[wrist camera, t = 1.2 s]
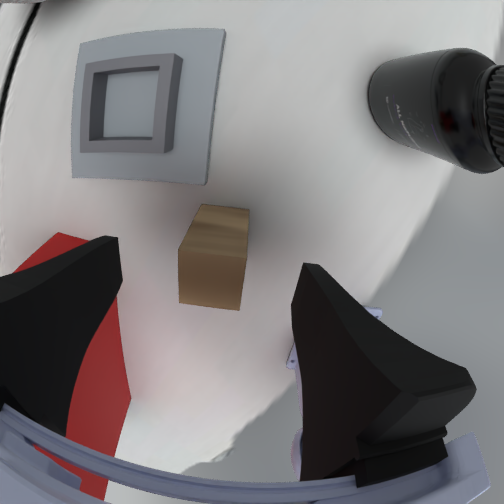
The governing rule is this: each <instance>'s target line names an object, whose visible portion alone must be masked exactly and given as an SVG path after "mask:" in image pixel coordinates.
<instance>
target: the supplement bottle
mask: <svg viewBox="0 0 504 504" xmlns="http://www.w3.org/2000/svg"><path fill="white" fill-rule="evenodd" d="M369 101H370V107H371V110H372V113H373V116H374V118H375V120H376V122H377V123H378V125H379V126H380V128H381V129H382V130H383V131H384V132H385V133H386V134H387V135H388V136H389V137H390V138H392V139H393V140H395V141H397V142H398V143H401V144H403V145H406V146H408V147H411V148H414V149H417V150H420V151H422V152H425V153H428V154H430V155H433V156H435V157H438V158H440V159H443V160H445V161H448V162H450V163H452V164H455V165H457V166H459V167H461V168H464V169H466V170H469V171H471V172H474V173H479V174H486V173H491V172H494V171H496V170H498V169H500V168H501V167H504V65H496V64H495V63H494V62H493V61H492V60H491V59H489V58H488V57H487V56H485V55H484V54H482V53H480V52H478V51H476V50H473V49H469V48H453V49H446V50H439V51H433V52H427V53H421V54H416V55H411V56H407V57H402V58H398V59H395V60H391V61H389V62H386V63H385V64H383V65H382V66H380V67H379V68H378V69H377V71H376V72H375V74H374V75H373V77H372V80H371V83H370V87H369Z"/></svg>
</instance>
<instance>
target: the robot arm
mask: <svg viewBox="0 0 504 504" xmlns="http://www.w3.org/2000/svg"><path fill="white" fill-rule="evenodd" d="M122 281H123V278H122V271H121V263H120V254H119V244H118V237H112V236H102V237H99V238H96V239H93V240H91V241H89V242H86V243H84V244H82V245H80V246H77V247H75V248H73V249H71V250H69V251H67V252H65V253H63V254H60V255H58V256H56V257H53V258H51V259H49V260H47V261H45V262H42V263H40V264H38V265H35V266H33V267H30V268H27V269H24V270H22V271H19V272H15V273H12V274H9V275H5V276H2V277H0V504H111V503H108V502H105V501H103V500H100V499H98V498H95V497H93V496H90V495H88V494H86V493H83V492H81V491H80V484H81V481H82V480H81V478H80V477H78V476H77V475H75V474H73V473H71V472H69V471H68V470H66V469H64V468H63V467H61V466H60V465H58V464H57V463H56V462H54V461H53V460H52V459H51V458H49V457H47V456H46V455H44V454H42V453H41V452H39V451H38V450H36V449H35V447H34V445H36V446H37V447H39V448H41V449H42V450H44V451H46V452H48V453H50V454H52V455H53V456H55V457H57V458H59V459H61V460H63V461H65V462H67V463H69V464H71V465H74V466H76V467H78V468H80V469H83V470H85V471H87V472H90V473H92V474H95V475H97V476H100V477H102V478H105V479H108V480H110V481H113V482H117V483H119V484H122V485H125V486H129V487H132V488H135V489H139V490H143V491H146V492H150V493H154V494H158V495H162V496H167V497H172V498H177V499H183V500H188V501H195V502H202V503H210V504H467V503H469V502H470V501H472V500H473V499H475V498H476V497H477V496H479V495H480V494H482V493H483V492H484V491H486V490H487V489H489V488H490V486H491V483H490V480H489V476H488V473H487V469H486V466H485V463H484V460H483V457H482V454H481V451H480V448H479V445H478V442H477V439H476V437H475V434H474V432H470V433H468V434H465V435H463V436H461V437H459V438H456V439H454V440H452V441H450V442H448V443H447V444H444V441H443V437H445V436H446V435H447V430H446V427H445V425H446V424H447V423H448V422H450V421H451V420H452V419H453V418H454V417H455V416H457V415H458V414H459V413H460V412H461V411H462V410H463V409H464V408H465V407H466V406H467V405H468V404H469V402H470V401H471V400H472V399H473V397H474V395H475V393H476V386H475V384H474V382H473V380H472V378H471V376H470V374H469V372H468V371H467V369H466V368H464V367H462V366H459V365H457V364H454V363H452V362H449V361H447V360H444V359H442V358H440V357H438V356H435V355H434V354H432V353H430V352H428V351H426V350H424V349H422V348H420V347H418V346H417V345H414V344H413V343H411V342H410V341H408V340H407V339H405V338H404V337H402V336H400V335H399V334H397V333H396V332H394V331H393V330H391V329H390V328H389V327H387V326H386V325H385V324H383V323H382V322H381V321H379V319H380V317H381V315H382V313H383V311H382V309H381V308H375V307H363V306H362V305H360V304H359V303H358V302H357V301H356V300H355V299H354V298H353V297H352V296H351V295H350V294H349V293H348V292H347V291H346V290H345V289H344V288H343V287H342V286H341V285H340V284H339V283H338V282H337V281H336V280H335V279H334V278H333V277H332V276H331V275H330V274H329V273H328V272H327V271H326V270H324V269H323V268H322V267H321V266H320V265H318V264H311V263H303V265H302V269H301V273H300V276H299V280H298V283H297V287H296V290H295V293H294V297H293V300H292V304H291V316H292V329H293V335H294V341H295V342H294V345H293V347H292V350H291V353H290V356H289V358H288V361H287V363H286V367H287V368H288V369H295V373H296V381H297V389H298V397H299V407H300V412H301V415H302V417H303V428H301V429H299V430H298V431H297V433H296V434H295V437H294V440H293V442H292V446H291V461H292V466H293V470H294V473H295V474H296V477H297V479H298V480H299V482H276V483H261V482H259V483H258V482H236V481H223V480H213V479H205V478H199V477H192V476H185V475H180V474H175V473H170V472H165V471H161V470H157V469H152V468H148V467H145V466H141V465H137V464H134V463H130V462H127V461H124V460H121V459H118V458H115V457H112V456H109V455H106V454H103V453H100V452H98V451H95V450H93V449H90V448H88V447H85V446H83V445H80V444H78V443H76V442H73V441H71V440H69V439H67V438H65V436H66V430H67V422H68V415H69V409H70V404H71V399H72V395H73V391H74V387H75V383H76V380H77V377H78V373H79V370H80V367H81V364H82V362H83V359H84V356H85V353H86V351H87V349H88V346H89V344H90V342H91V340H92V338H93V337H94V335H95V333H96V331H97V329H98V328H99V326H100V324H101V323H102V321H103V319H104V317H105V316H106V314H107V312H108V310H109V309H110V307H111V305H112V304H113V302H114V300H115V298H116V296H117V293H118V291H119V289H120V286H121V284H122ZM375 316H376V317H375ZM33 444H34V445H33Z"/></svg>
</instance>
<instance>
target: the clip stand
mask: <svg viewBox="0 0 504 504" xmlns="http://www.w3.org/2000/svg"><path fill="white" fill-rule="evenodd" d="M225 36H226V32H225V29H212V28H188V29H167V30H154V31H145V32H137V33H130V34H123V35H117V36H112V37H107V38H102V39H97V40H93V41H89V42H85V43H81V44H80V48H79V54H78V60H77V66H76V73H75V82H74V91H73V104H72V123H71V160H72V178H102V179H127V180H145V181H160V182H173V183H185V184H196V185H205V184H206V182H207V175H208V164H209V154H210V144H211V135H212V126H213V118H214V110H215V102H216V94H217V87H218V80H219V73H220V66H221V60H222V54H223V48H224V42H225Z"/></svg>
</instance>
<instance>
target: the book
mask: <svg viewBox="0 0 504 504" xmlns="http://www.w3.org/2000/svg"><path fill="white" fill-rule="evenodd" d="M86 242H89V241H88V240H84V239H81V238H77V237H73V236H70V235H66V234H62V233H59V232H58V233H57V234H55V235H54V236H53V237H52V238H51V239H49V240H48V241H47V242H46V243H45V244H44V245H42V246H41V247H40V248H39V249H38V250H37V251H36V252H35V253H33V254H32V255H31V256H30V257H29V258H28V259H27V260H26V261H25V262H24V263H23V264H22V265H20V266H19V267H18V268H17V269H16V270H15V271H14V272H13V273H15V272H19V271H22V270H24V269H27V268H30V267H33V266H35V265H38V264H40V263H42V262H45V261H47V260H49V259H51V258H53V257H56V256H58V255H60V254H63V253H65V252H67V251H69V250H71V249H73V248H75V247H77V246H80V245H82V244H84V243H86ZM130 401H131V395H130V391H129V386H128V380H127V375H126V369H125V364H124V357H123V351H122V344H121V336H120V327H119V318H118V307H117V296H116V298H115V300H114V302H113V304H112V305H111V307H110V309H109V310H108V312H107V314H106V316H105V317H104V319H103V321H102V323H101V324H100V326H99V328H98V329H97V331H96V333H95V335H94V337H93V338H92V340H91V342H90V344H89V346H88V349H87V351H86V353H85V356H84V359H83V362H82V364H81V367H80V370H79V373H78V377H77V380H76V383H75V387H74V391H73V395H72V399H71V404H70V409H69V415H68V422H67V430H66V436H65V438H67V439H69V440H71V441H73V442H76V443H78V444H80V445H83V446H85V447H88V448H90V449H93V450H95V451H98V452H100V453H103V454H106V455H109V456H112V457H114V456H115V452H116V448H117V445H118V441H119V437H120V434H121V430H122V427H123V423H124V420H125V417H126V413H127V410H128V407H129V404H130ZM33 445H34V444H33ZM34 447H35V449H36V450H38V451H39V452H41V453H42V454H44V455H46V456H47V457H49V458H51V459H52V460H53V461H54V462H56V463H57V464H58V465H60V466H61V467H63V468H64V469H66V470H68V471H69V472H71V473H73V474H75V475H77V476H78V477H80V478H81V480H82V481H81V484H80V491H81V492H83V493H86V494H88V495H90V496H93V497H95V498H98V499H100V500H103V501H104V498H105V493H106V489H107V484H108V479H105V478H102V477H100V476H97V475H95V474H92V473H90V472H87V471H85V470H83V469H80V468H78V467H76V466H74V465H71V464H69V463H67V462H65V461H63V460H61V459H59V458H57V457H55V456H53V455H52V454H50V453H48V452H46V451H44V450H42V449H41V448H39V447H37V446H36V445H34Z"/></svg>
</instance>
